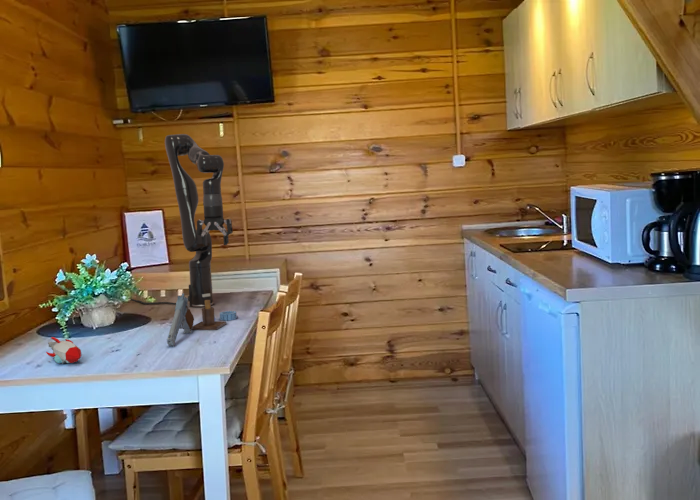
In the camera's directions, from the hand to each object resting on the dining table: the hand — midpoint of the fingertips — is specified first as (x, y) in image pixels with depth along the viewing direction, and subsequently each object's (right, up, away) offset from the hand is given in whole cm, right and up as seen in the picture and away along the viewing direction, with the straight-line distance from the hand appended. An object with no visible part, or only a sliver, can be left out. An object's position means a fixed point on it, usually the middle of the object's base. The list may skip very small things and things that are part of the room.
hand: (215, 245), depth 270 cm
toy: (-37, -37, -57) cm, 77 cm away
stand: (+2, -31, -21) cm, 37 cm away
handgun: (-4, -33, -39) cm, 51 cm away
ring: (+7, -29, -8) cm, 31 cm away
